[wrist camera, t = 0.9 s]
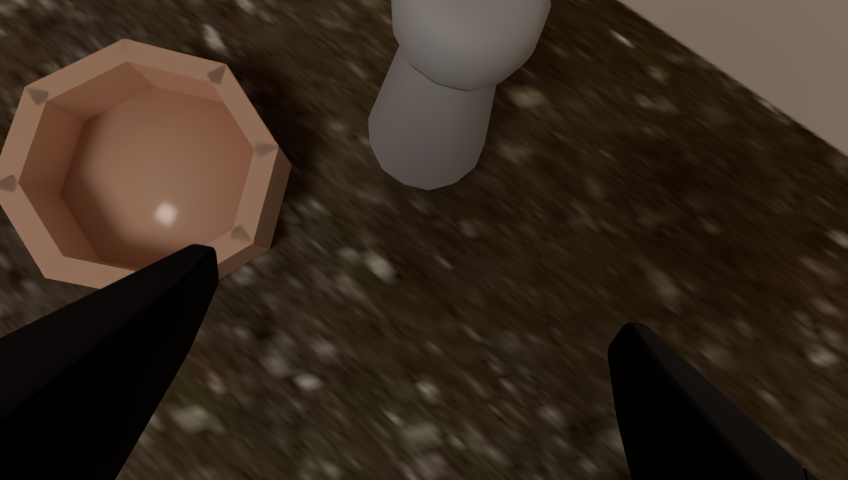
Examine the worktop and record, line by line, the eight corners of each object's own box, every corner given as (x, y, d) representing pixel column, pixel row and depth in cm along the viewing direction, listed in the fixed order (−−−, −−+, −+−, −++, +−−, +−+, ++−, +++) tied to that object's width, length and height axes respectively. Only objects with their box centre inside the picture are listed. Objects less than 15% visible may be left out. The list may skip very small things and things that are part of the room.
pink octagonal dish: (127, 335, 20) (84, 343, 17) (10, 146, 21) (-50, 122, 18) (324, 216, 22) (316, 205, 19) (214, 43, 22) (189, 6, 19)
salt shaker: (449, 215, 23) (543, 125, 10) (352, 173, 22) (319, 21, 10) (488, 122, 24) (621, -71, 11) (395, 79, 23) (418, -173, 11)
